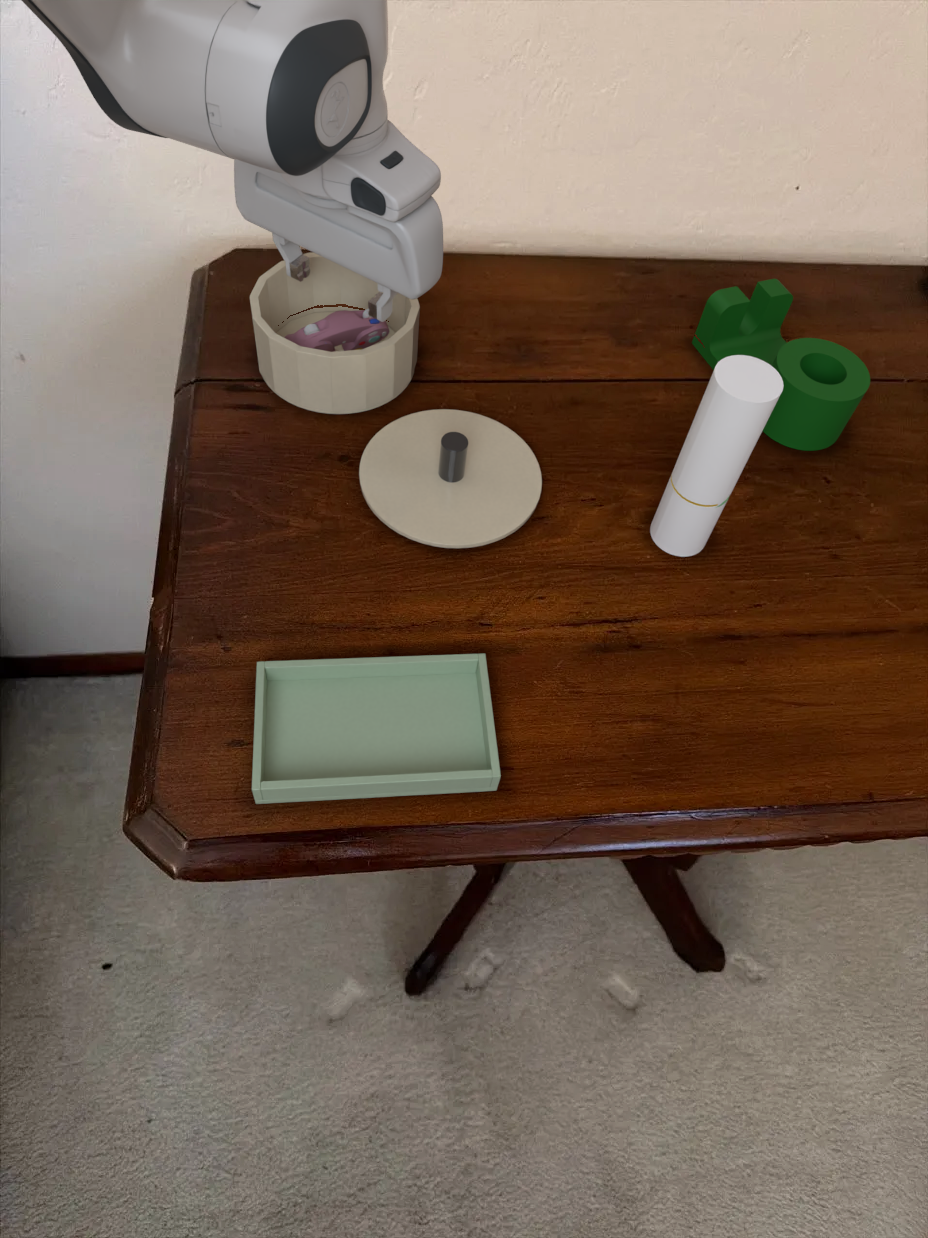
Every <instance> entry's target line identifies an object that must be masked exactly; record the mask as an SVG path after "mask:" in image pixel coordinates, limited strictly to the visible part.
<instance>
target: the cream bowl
mask: <svg viewBox="0 0 928 1238" xmlns="http://www.w3.org/2000/svg"><path fill="white" fill-rule="evenodd" d="M302 254H303V255H305V256H307V257H309V259H310V265H309V267H310V274H309V276H308V277H307V278H304V279H303V281H301V282H300V281H298V280H296V279H294V278H292V277H290V276H287V273H286V263H285V260H284V259H283V260H281V261H279V262H278V263H276V264H275V265H274V266H272V267H271V268H269V269H268V270H267V271H265V272H264V273H262V274H261V275H260V276H259V277H258V279H257V281H256V283H255V284H254V287H253V289H252V290H251V293H250V294H249V303H250V312H251V318H252V319H251V320H252V327H253V333H254V341H255V350H256V356H257V363H258V370H259V374H260V375H261V377H262V379H263V381H264V382H265V383H266V385H267V386H268V388H269V389H271V391H272V392H273V393H274V394H275V395H277V396H278V397H279V398H281V399H283V400H284V401H286V402H287V403H289V404H291V405H293V406H296V407H297V408H301V409H304V410H306V411H311V412H315V413H320V414H327V415H348V414H349V415H351V414H358V413H363V412H367V411H371V410H373V409H376V408H380V407H381V406H383V405H386V404H388V403H389V402H391V401H392V400H394V399H396V398H397V397H398V396H399V395H401V394H402V393H403V392H404V391H405V389H407V387H408V386H409V385H410V383H411V381H412V379H413V376H414V374H415V370H416V365H417V362H418V350H419V349H418V348H419V328H420V311H421V305H420V302H419V299H418V298H417V299H409V298H407V297H405V296H403V295H401V294H399V293H397V295H396V296H395V297H394V298H393V299H392V313H391V315H390V317H388V318H387V319H386V320H387V321H386V320H385V321H386V323H387V325H388V328H389V334H388V335H387V336H386V337H385V338H384V339H383V340H381V341H379V342H377V343H375V344H374V345H372V346H369V347H367V348H364V349H360V350H347V351H344V350H343V347H342V344H341V345H338V346H335V347H334V348H335V351H334V352H330V351H324V350H319V349H313V348H308V347H303V346H299V345H297V344H296V343H294V342H292V341H290V340H288V339H286V338H284V337H285V336H286V335H288V334H294V333H296V332H297V331H298V330H299V329H301V328H303V327H305V326H307V325H309V324H312V323H315V322H317V321H320V320H322V319H324V318H325V317H327V316H328V315H329V314H331V313H333V312H335V311H342V310H347V311H359V309H353V308H348V307H342V306H338V307H323V308H313V309H310V310H307V311H304V312H301V311H303V310H306V309H308V308H311V307H314V306H317V305H319V306H320V305H323V306H324V305H336V304H346V305H348V306H353V307H358V308H363V309H365V310H366V309H369V308H368V301H369V300H370V299H371V298H373V297H375V295H376V294H377V293H379V292H380V291H378V283H376V282H374V281H372V280H370V279H368V278H366V277H364V276H362V275H359V274H357V273H355V272H353V271H351V270H349V269H347V268H345V267H343V266H341V265H339V264H337V263H334V262H332V261H330V260H328V259H326V258H324V257H322V256H320V255H318V254H316V253H314V252H312V251H310V252H306V253H302ZM381 293H383V292H381ZM298 312H301V313H299V314H296V313H298ZM293 314H296V315H293ZM290 315H293V316H290ZM289 316H290V317H289ZM288 317H289V318H288ZM287 318H288V319H287ZM283 321H284V322H283ZM388 321H389V322H388ZM282 322H283V323H282ZM278 325H279V326H278Z"/></svg>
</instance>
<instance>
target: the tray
mask: <svg viewBox="0 0 928 1238" xmlns="http://www.w3.org/2000/svg"><path fill="white" fill-rule="evenodd" d="M487 663H488V662H487V654H486V653H483V652H482V653H459V654H432V655H431V654H429V655H428V654H427V655H403V656H402V655H401V656H400V655H399V656H375V657H374V656H373V657H349V658H347V657H345V658H320V659H319V658H318V659H316V658H315V659H290V660H287V659H286V660H266V661H265V660H263V661H256V669H255V670H256V671H255V692H254V693H255V694H254V695H255V697H254V719H253V720H254V721H253V722H254V723H253V744H252V769H251V770H252V772H251V792H252V795H253V799H254V802H255V805H264V804H281V803H300V802H301V803H302V802H318V801H335V800H336V801H337V800H353V799H371V798H374V799H375V798H391V797H407V796H408V797H409V796H424V795H425V796H428V795H442V794H444V795H445V794H461V793H462V794H463V793H480V792H496V791H498V787H499V784H500V781H501V776H502V775H501V774H502V773H501V767H500V766H501V765H500V759H499V757H500V756H499V749H498V741H497V735H496V733H497V732H496V726H495V725H496V724H495V719H494V710H493V702H492V694H491V687H490V678H489V672H488V664H487Z"/></svg>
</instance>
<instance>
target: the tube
mask: <svg viewBox="0 0 928 1238" xmlns="http://www.w3.org/2000/svg"><path fill="white" fill-rule="evenodd" d="M783 386H784V385H783V380H782V377H781V376H780V374H779V373H778V371H777V370H776V369H775V368H773V367H772V366H771V365H770V364H768V363H766V362H765V361H763V360H760V359H758V358H755V357H751V356H746V355H732V356H728V357H725V358H723V359H722V360H720V361H719V362H718V363H717V365H716V366H715V369H714V370H713V371H712V373H711V376H710V378H709V381H708V383H707V386H706V389H705V391H704V394H703V395H702V398H701V400H700V403H699V405H698V407H697V410H696V412H695V416H694V418H693V420H692V423H691V425H690V428H689V430H688V432H687V434H686V437H685V440H684V442H683V445H682V447H681V450H680V452H679V455H678V457H677V459H676V462H675V465H674V468H673V469H672V472H671V474H670V476H669V479H668V482H667V484H666V486H665V489H664V491H663V494H662V496H661V499H660V501H659V504H658V506H657V509H656V511H655V514H654V516H653V519H652V521H651V524H650V527H649V533H650V536H651V539H652V541H653V543H655V545H656V546H657V547H658V548H659V549H660V550H662V551H663V552H665V553H667V554H669V555H672V556H675V557H681V558H685V557H692V556H696V555H697V554H699V553H701V552H702V551H703V550H704V548H705V546H706V545H707V542H708V541H709V539H710V536H711V534H712V532H713V531H714V528H715V526H716V525H717V522H718V520H719V519H720V516H721V514H722V512H723V510H724V508H725V506H726V505H727V503H728V501H729V499H730V496H731V495H732V492H733V491H734V489H735V486H736V484H737V483H738V481H739V479H740V476H741V475H742V473H743V470H744V468H745V467H746V464H747V463H748V461H749V459H750V456H751V455H752V452H753V450H754V449H755V447H756V445H757V442H758V440H759V439H760V436H761V435H762V433H763V429H764V427H765V425H766V423H767V421H768V419H769V417H770V415H771V413H772V411H773V409H774V407H775V405H776V403H777V401H778V399H779V397H780V395H781V393H782V391H783Z"/></svg>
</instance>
